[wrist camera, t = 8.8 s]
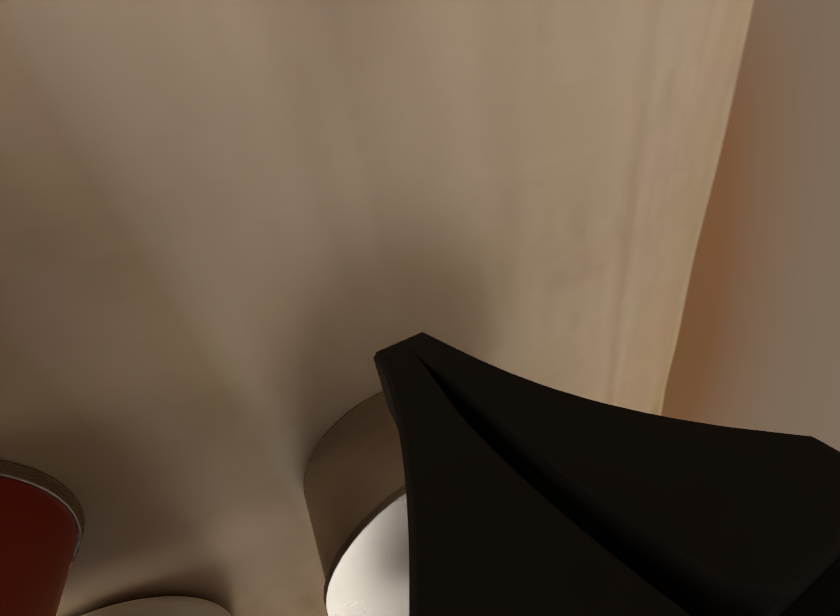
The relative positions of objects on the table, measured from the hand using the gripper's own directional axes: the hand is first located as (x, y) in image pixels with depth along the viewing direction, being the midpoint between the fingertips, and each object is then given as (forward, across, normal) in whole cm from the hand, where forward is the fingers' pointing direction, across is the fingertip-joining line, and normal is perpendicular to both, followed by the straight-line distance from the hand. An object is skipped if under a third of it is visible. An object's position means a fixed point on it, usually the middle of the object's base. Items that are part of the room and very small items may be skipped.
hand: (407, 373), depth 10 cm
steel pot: (+5, 0, +10) cm, 11 cm away
